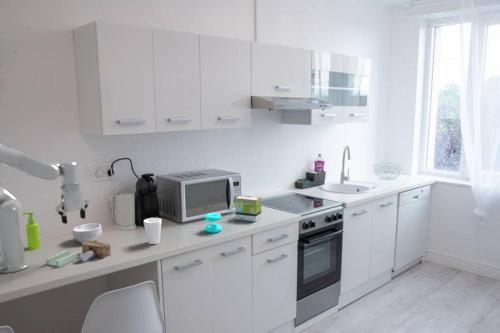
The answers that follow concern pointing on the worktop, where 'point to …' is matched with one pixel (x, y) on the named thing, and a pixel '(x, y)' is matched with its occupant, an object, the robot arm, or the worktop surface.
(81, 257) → the axle
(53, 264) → the cradle
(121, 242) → the worktop surface
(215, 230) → the donuts
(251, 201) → the tea box
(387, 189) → the worktop surface
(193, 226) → the worktop surface
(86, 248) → the brown wooden block
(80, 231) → the paper bowls
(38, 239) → the soap dispenser
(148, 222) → the foam cup
